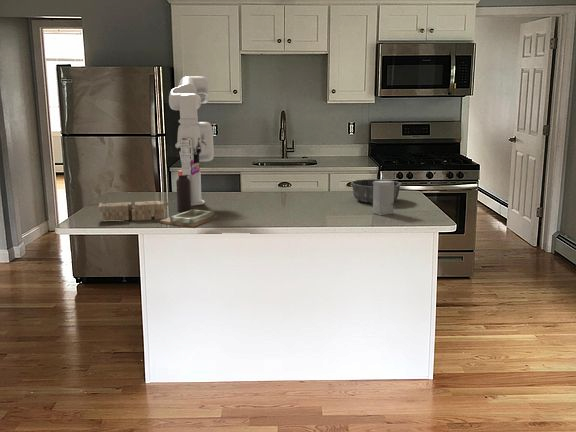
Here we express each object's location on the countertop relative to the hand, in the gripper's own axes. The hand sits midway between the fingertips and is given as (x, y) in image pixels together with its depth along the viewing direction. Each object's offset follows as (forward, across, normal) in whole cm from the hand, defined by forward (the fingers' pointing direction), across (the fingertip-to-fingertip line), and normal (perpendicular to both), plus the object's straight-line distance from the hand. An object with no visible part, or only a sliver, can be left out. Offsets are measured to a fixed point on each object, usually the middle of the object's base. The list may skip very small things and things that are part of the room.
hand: (190, 162), depth 282 cm
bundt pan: (+28, +62, +81) cm, 106 cm away
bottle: (+28, -17, +18) cm, 37 cm away
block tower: (+28, -28, -8) cm, 40 cm away
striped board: (+27, -2, 0) cm, 27 cm away
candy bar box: (+5, 0, 0) cm, 5 cm away
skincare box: (+27, +75, +52) cm, 95 cm away
